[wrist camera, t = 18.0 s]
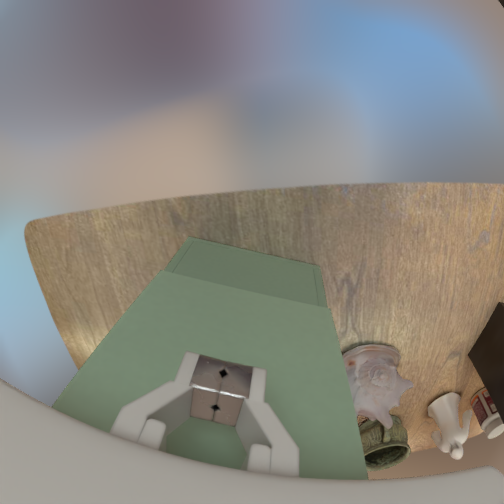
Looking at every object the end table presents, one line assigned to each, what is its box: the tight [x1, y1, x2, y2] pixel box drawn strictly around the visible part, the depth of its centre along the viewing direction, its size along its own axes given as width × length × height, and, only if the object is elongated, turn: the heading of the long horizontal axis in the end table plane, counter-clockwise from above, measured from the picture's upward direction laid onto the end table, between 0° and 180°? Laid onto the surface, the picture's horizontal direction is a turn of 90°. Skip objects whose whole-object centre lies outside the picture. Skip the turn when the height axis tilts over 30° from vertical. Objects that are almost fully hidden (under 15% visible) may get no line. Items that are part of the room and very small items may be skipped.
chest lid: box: [52, 270, 369, 480], centre depth 17 cm, size 16×14×1 cm
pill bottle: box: [471, 388, 504, 439], centre depth 35 cm, size 5×5×8 cm
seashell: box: [342, 344, 413, 429], centre depth 33 cm, size 10×12×9 cm
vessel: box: [359, 415, 411, 471], centre depth 40 cm, size 12×9×6 cm
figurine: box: [428, 392, 472, 460], centre depth 34 cm, size 8×8×12 cm
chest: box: [164, 236, 328, 308], centre depth 31 cm, size 15×14×8 cm
